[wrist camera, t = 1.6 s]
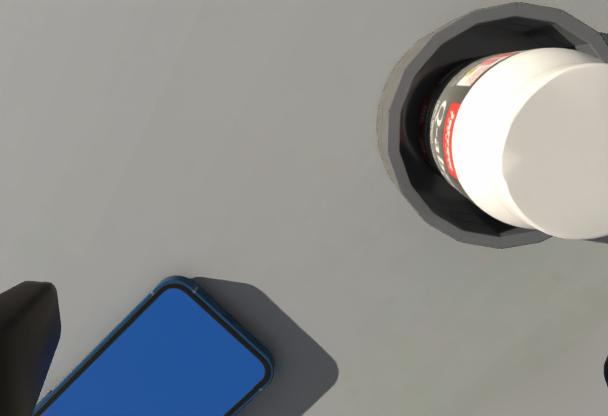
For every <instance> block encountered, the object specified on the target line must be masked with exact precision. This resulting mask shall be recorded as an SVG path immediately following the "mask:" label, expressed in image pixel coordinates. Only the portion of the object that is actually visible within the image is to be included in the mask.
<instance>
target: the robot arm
mask: <svg viewBox="0 0 608 416" xmlns="http://www.w3.org/2000/svg"><path fill="white" fill-rule="evenodd" d="M60 334H61V321H60V313H59V305H58V297H57V290H56V288H55V286H54V285H53V284H52V283H50V282H37V281H25V282H22V283H20V284H18V285H16V286H14V287H13V288H11V289H9V290H7V291H5V292H3V293H1V294H0V416H32V414H33V412H34V409H35V406H36V403H37V400H38V398H39V395H40V392H41V389H42V387H43V384H44V381H45V378H46V376H47V373H48V370H49V367H50V364H51V362H52V359H53V356H54V353H55V351H56V348H57V345H58V342H59V339H60ZM604 377H605V380H606V383H607V386H608V356H607V359H606V361H605V364H604Z"/></svg>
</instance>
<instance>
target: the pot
mask: <svg viewBox="0 0 608 416" xmlns="http://www.w3.org/2000/svg"><path fill="white" fill-rule="evenodd" d="M537 48H565V49H571V50H576V51H580V52H583V53H586V54H589V55H591V56H593V57H595V58H597V59H599V60H601V61H602V62H604V63H608V45H607V43H606V42H605V40H604V39H603V38H602V36H601V35H600V34H599V33H598V32H597V31H596V30H594V29H593V28H591V27H589V26H588V25H586V24H584V23H583V22H581V21H580V20H578V19H576V18H575V17H573V16H572V15H570V14H568V13H567V12H565V11H564V10H561V9H557V8H551V7H545V6H539V5H534V4H528V3H522V2H518V3H517V2H514V3H508V4H503V5H498V6H493V7H488V8H483V9H478V10H474V11H471V12H469V13H467V14H465V15H463V16H461V17H459V18H457V19H454V20H452V21H450V22H448V23H447V24H445V25H443V26H442V27H440V28H438V29H437V30H435V31H433V32H432V33H430V34H428V35H427V36H425V37H423V38H422V39H420V40H418V41H417V42H416V43H415V44H414V45H413V46H412V48H411V49H410V50H409V51H408V52H407V53H406V54H405V55H404V56H403V58H402V59H401V60H400V61H399V63H398V64H397V65H396V67H395V68H394V69H393V71H392V72H391V75H390V77H389V79H388V81H387V83H386V86H385V88H384V90H383V94H382V97H381V100H380V103H379V108H378V116H377V135H378V141H377V142H378V146H379V149H380V153H381V156H382V159H383V162H384V164H385V167H386V170H387V173H388V176H389V177H390V179H391V180H392V182H393V183H394V184H395V186H396V187H397V189H398V190H399V191H400V193H401V194H402V195H403V196H404V198H405V199H406V200H407V201H408V203H409V204H410V205H411V206H412V207H413V209H414V210H415V211H416V212H417V213H418V215H419V216H420V217H421V218H422V219H423V221H424V222H426V223H427V224H429V225H430V226H432V227H434V228H436V229H437V230H439V231H441V232H443V233H444V234H446V235H448V236H450V237H452V238H453V239H455V240H457V241H460V242H462V243H468V244H474V245H479V246H485V247H491V248H497V249H499V248H500V249H503V248H509V247H515V246H521V245H528V244H534V243H540V242H542V241H544V240H546V239H548V238H550V237H552V236H551V235H549V234H546V233H544V232H542V231H540V230H537V229H527V228H521V227H516V226H513V225H510V224H507V223H504V222H502V221H500V220H498V219H496V218H494V217H492V216H490V215H489V214H487V213H486V212H484V211H483V210H481V209H480V208H479V207H477V206H476V205H475V204H474V203H473V202H471V201H470V200H469V199H468V198H466V197H465V196H464V195H463V194H461V193H460V192H459V191H458V190H456V189H455V188H454V187H452V186H451V185H450V184H449V183H447V182H446V181H445V180H444V179H443V178H441V177H440V176H439V175H438V174H437V173H436V172H435V171H434V170H433V168H432V167H431V166H430V164H429V163H428V161H427V160H426V158H425V156H424V154H423V151H422V148H421V145H420V141H419V135H418V121H419V114H420V110H421V106H422V103H423V101H424V99H425V97H426V95H427V93H428V91H429V90H430V88H431V87H432V85H433V84H434V83H435V82H436V80H437V79H438V78H439V77H440V76H441V75H443V74H444V73H445V72H446V71H448V70H449V69H450V68H452V67H453V66H455V65H457V64H459V63H461V62H463V61H466V60H468V59H472V58H475V57H478V56H486V55H494V54H501V53H509V52H516V51H524V50H531V49H537Z"/></svg>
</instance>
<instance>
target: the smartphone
mask: <svg viewBox="0 0 608 416" xmlns="http://www.w3.org/2000/svg"><path fill="white" fill-rule="evenodd" d="M273 372H274V360H273V357H272V355H271V354H270V352H269V351H268V350H267V349H266V348H265V347H263V346H262V345H261V344H260V343H259V342H258V341H257V340H256V339H255V338H254V337H253V336H252V335H250V334H249V333H248V332H247V331H246V330H245V329H244V328H243V327H242V326H241V325H240V324H238V323H237V322H236V321H235V320H234V319H233V318H232V317H231V316H230V315H229V314H228V313H226V312H225V311H224V310H223V309H222V308H221V307H220V306H219V305H218V304H217V303H216V302H214V301H213V300H212V299H211V298H210V297H209V296H208V295H207V294H206V293H205V292H204V291H203V290H201V289H200V288H199V287H198V286H197V285H196V284H195V283H194V282H192V281H191V280H190V279H188V278H186V277H183V276H171V277H168V278H166V279H164V280H163V281H161V282H160V283H159V284H158V285H157V286H156V287H155V288H154V289H153V290H152V291H151V292H150V293H149V294H148V295H147V296H146V297H145V298H144V299H143V300H142V301H141V302H140V303H139V304H138V305H137V306H136V307H135V308H134V309H133V310H132V311H131V312H130V313H129V314H128V315H127V316H126V317H125V318H124V319H123V320H122V321H121V322H120V323H119V324H118V325H117V326H116V327H115V328H114V329H113V330H112V331H111V332H110V333H109V334H108V335H107V336H106V337H105V338H104V339H103V340H102V341H101V342H100V343H99V344H98V345H97V346H96V348H95V349H94V350H93V351H92V352H91V353H90V354H89V355H88V356H87V357H86V358H85V359H84V360H83V361H82V362H81V363H80V364H79V365H78V366H77V367H76V368H75V369H74V370H73V371H72V372H71V373H70V374H69V375H68V376H67V377H66V378H65V379H64V380H63V381H62V382H61V383H60V384H59V385H58V386H57V387H56V388H55V389H54V390H53V391H50V392H49V393H48V394H47V395H46V396H45V397H44V398H43V399H42V400H41V401H40V402H39V403H38V404H37V405H36V406H35V409H34V412H33V414H32V416H235V415H236V414H237V413H238V412H239V411H240V410H241V409H242V408H243V407H244V406H246V405H247V404H248V403H249V402H250V401H251V400H252V399H253V398H254V397H255V396H256V395H258V394H259V393H260V392H261V391H262V390H263V389H264V388H265V387H266V386H267V385H268V384H269V383H270V381H271V379H272V377H273Z"/></svg>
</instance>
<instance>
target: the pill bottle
mask: <svg viewBox="0 0 608 416" xmlns="http://www.w3.org/2000/svg"><path fill="white" fill-rule="evenodd" d="M418 135H419V141H420V145H421V148H422V151H423V154H424V156H425V158H426V160H427V161H428V163H429V164H430V166H431V167H432V168H433V170H434V171H435V172H436V173H437V174H438V175H439V176H440V177H441V178H443V179H444V180H445V181H446V182H447V183H449V184H450V185H451V186H452V187H454V188H455V189H456V190H458V191H459V192H460V193H461V194H463V195H464V196H465V197H466V198H468V199H469V200H470V201H471V202H473V203H474V204H475V205H476V206H477V207H479V208H480V209H481V210H483V211H484V212H486V213H487V214H489V215H490V216H492V217H494V218H496V219H498V220H500V221H502V222H504V223H507V224H510V225H513V226H516V227H521V228H527V229H537V230H540V231H542V232H544V233H546V234H549V235H551V236H555V237H559V238H564V239H571V240H587V239H595V238H600V237H604V236H608V63H604V62H602V61H601V60H599V59H597V58H595V57H593V56H591V55H589V54H586V53H583V52H580V51H576V50H571V49H565V48H537V49H531V50H524V51H516V52H509V53H501V54H494V55H486V56H478V57H475V58H472V59H468V60H466V61H463V62H461V63H459V64H457V65H455V66H453V67H452V68H450V69H449V70H448V71H446V72H445V73H444V74H443V75H441V76H440V77H439V78H438V79H437V80H436V82H435V83H434V84H433V85H432V87H431V88H430V90H429V91H428V93H427V95H426V97H425V99H424V101H423V103H422V106H421V110H420V114H419V121H418Z"/></svg>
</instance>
